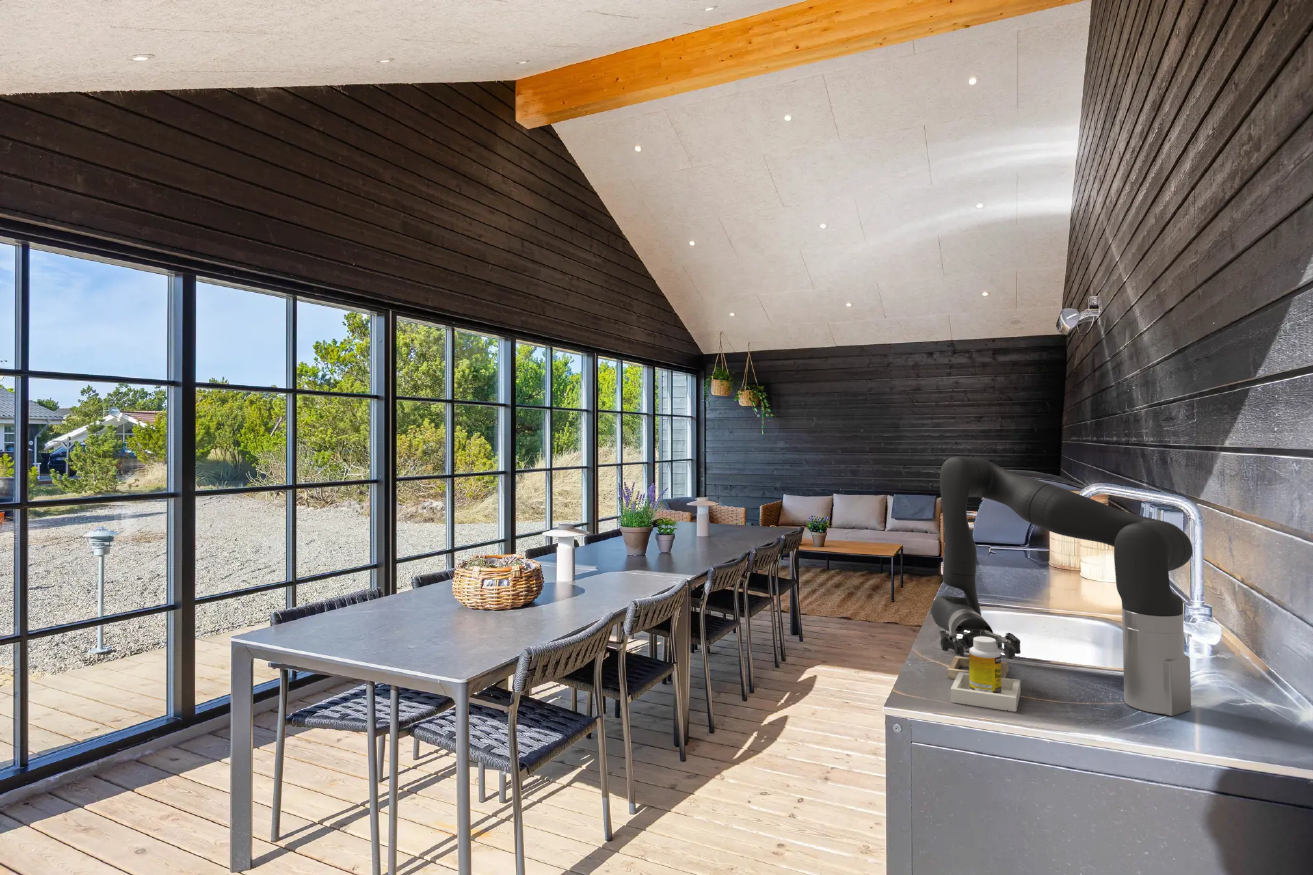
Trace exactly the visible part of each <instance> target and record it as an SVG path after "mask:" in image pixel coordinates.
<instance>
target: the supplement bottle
mask: <svg viewBox="0 0 1313 875" xmlns="http://www.w3.org/2000/svg"><path fill="white" fill-rule="evenodd" d="M973 646H974V647H971V648H970V649H969V653H968V658H969V667H968V671H969V682H970V690H975V691H983V692H990V693H997V694H1001V662H1002V653H1001V652H1000V651H999V650H998V649H996V646H997V645H996V640H995V639H994V638H990V637H982V636H980V637H975V638H973Z"/></svg>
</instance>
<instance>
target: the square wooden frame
mask: <svg viewBox="0 0 1313 875" xmlns="http://www.w3.org/2000/svg"><path fill="white" fill-rule="evenodd" d="M960 667H962V668H969V657H967V656H966V657H965V656H964V657H960V656H959V655H955V656H954V658H953V659H952V661H951V662H950V664H949V666H948V668H947V679H951V680H952V679H953V680H955V679H956V677H957V675H958V673H959V672H962V673H969V670H966V669H959V668H960ZM1008 673H1009V662H1008V661H1001V678H1007V676H1008Z"/></svg>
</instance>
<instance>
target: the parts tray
mask: <svg viewBox="0 0 1313 875" xmlns="http://www.w3.org/2000/svg"><path fill="white" fill-rule="evenodd" d="M1021 688H1022V687H1021V679H1015V678H1008V677H1006V678H1001V694H997V693H990V692H983V691H975V690H970V682H969V673H962V672H959V673H958V675H957V677H956V679H954V681H953V683H952V685H951V687H950V703H954V704H955V703H956V704H959V705H966V704H967V706H974V707H980V708H981V707H983V708H987V709H994V710H1000V711H1001V710H1002V711H1007V710H1008V711H1009V712H1014V713H1015V712H1017V710H1018V706H1019V703H1020V702H1019V701H1020V698H1021Z"/></svg>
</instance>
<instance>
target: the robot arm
mask: <svg viewBox="0 0 1313 875" xmlns="http://www.w3.org/2000/svg"><path fill="white" fill-rule="evenodd" d="M939 487H940V488H939V489H940V499H941V511H942V520H943V530H944V531H943V532H944V533H943V534H944V548H943V549H944V550H943V551H944V552H943V564H942V567H943V568H942V582H943V584H945V585H946V586H949V587H951V588H955V589H958V590H961V591H962V592H963V593H964V597H961V596H960V597H959V596H951V595H939V596H938V597H936V598H934V600H933V602H932V604H931V607H930V608H931V610H930V611H931V616H932V619H933V621H934V623H935V624H936V625H937V626H938V628H941V629H943V630H940V631H939V645H940V648H941V651H943V652H948V651H950V650H951V651H952V652H953V653H954V654H955V655H957V656H959V657H965V653H968V654H969V649H970V648H971V647H974V646H973V638H975V637H980V636H982V637H990V638H994V639H995V640H996V645H997V646H996V649H998V650H999V651H1000V652H1001V654H1004V655H1005V657H1006V658H1007V659H1009V660H1013V658H1014V657H1016V655H1020V654H1021V652H1022V651H1021V640H1020V639H1019V638H1018V637H1017V636H1016V635H1014V634H1013V633H1011V632H1006V633H1005V635H1004V636H1002V635H1000V634H998V633H994V631H993V629H992V626H990V625H989V623H988V622H987V621H986V619H985V618H983V616H982V611H981V608H980V607H981V606H980V603H979V598H978V594H977V586H976V574H977V571H976V570H977V561H978V560H977V556H978V555H977V546H976V543H975V540H974V536H973V533H972V531H971V528H970V525H969V521H968V515H967V507H968V506H967V504H968V498H971V497H972V498H982V499H986V500H991V501H994V502H997V503H1000V504H1003V505H1005V506H1007V507H1009V508H1010V509H1011V510H1012V511H1013V512H1014V513H1015V514H1017V516H1019V517H1020V518H1021V519H1022V520H1024V521H1025V522H1028V523H1029V524H1032V525H1034V526H1035V527H1038V528H1041V529H1043V530H1045V531H1048V532H1051V533H1053V534H1056V535H1060V536H1063V537H1064V536H1065V537H1068V538H1074V539H1078V540H1084V541H1090V542H1096V543H1099V544H1100V543H1101V544H1105V545H1107V546H1112V547H1113V557H1114V558H1113V560H1114V573H1115V584H1116V586H1115V587H1116V590H1117V593H1118V595H1119V597H1120V599H1121V600H1120V601H1121V607H1122V608H1121V614H1122V615H1121V618H1122V619H1121V620H1122V621H1121V622H1122V625H1121V626H1122V629H1121V630H1122V659H1123V660H1122V663H1123V665H1122V666H1123V671H1122V672H1123V696H1124V697H1123V699H1124V700H1123V702H1124V703H1125V704H1126V705H1128V706H1130V707H1131V708H1134V709H1136V710H1140V711H1144V712H1148V713H1154V714H1161V715H1166V716H1170V717H1174V716H1177V715H1180V714H1183V713H1185V712H1189V711H1191V710H1192V692H1191V691H1192V689H1191V658H1190V657H1189V656H1188V655H1185V644H1184V643H1185V642H1184V640H1185V639H1184V638H1185V636H1184V634H1185V633H1184V632H1185V631H1184V602H1183V599H1182V597H1181V595H1178V594H1176V593H1174V592H1173V591H1172V589H1171V584H1170V574H1169V573H1170V571H1174V570H1177V569H1179V568H1181V567H1183V566H1184V565H1186V564H1187V563H1188V562H1189V561H1190V559H1191V558H1192V555H1193V549H1194V548H1193V544H1192V542H1191V539H1190V538H1189V536H1188V535H1187V533H1185V532H1184V531H1183V530H1182V529H1181V528H1180V527H1179V526H1177V525H1175V524H1173V523H1171V522H1169V521H1164V520H1162V519H1161V520H1160V519H1156V518H1152V517H1147V516H1143V515H1139V514H1135V513H1131V512H1128V511H1125V510H1121V509H1117V508H1115V507H1112V506H1109V505H1107V504H1106V503H1103V502H1100V501H1098V500H1095V499H1093V498H1090V497H1088V496H1085V495H1083V494H1079V493H1076V492H1074V491H1072V490H1070V489H1066V488H1064V487H1061V486H1058V485H1055V484H1052V483H1049V482H1045V481H1042V480H1039V479H1035V478H1032V477H1027V476H1023V475H1019V474H1016V473H1013V472H1012V471H1009V470H1007V469H1006V468H1003V467H1001V466H999V465H997V464H996V463H993V462H992V461H991V462H990V461H989V460H986V459H983V458H980V457H976V456H975V457H974V456H959V455H958V456H952V457H950V458H947V459H946V460H945V461H944V462H943V464H942V466H941V469H940V473H939ZM949 633H950V634H949Z"/></svg>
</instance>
